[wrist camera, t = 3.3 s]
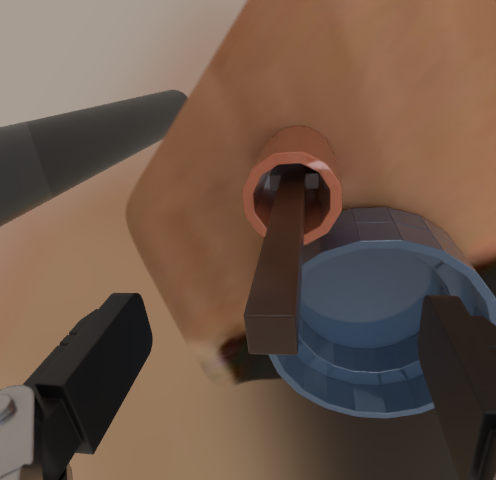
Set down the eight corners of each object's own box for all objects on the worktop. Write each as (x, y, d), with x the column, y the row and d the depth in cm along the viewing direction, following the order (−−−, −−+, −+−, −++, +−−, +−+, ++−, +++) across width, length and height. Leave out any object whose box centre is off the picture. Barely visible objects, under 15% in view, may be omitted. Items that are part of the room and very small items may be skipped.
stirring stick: (276, 176, 26) (220, 354, 11) (274, 156, 26) (214, 314, 10) (318, 173, 26) (327, 357, 10) (318, 153, 25) (327, 316, 9)
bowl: (278, 357, 35) (272, 411, 30) (265, 208, 28) (254, 243, 23) (451, 364, 32) (479, 424, 27) (481, 199, 26) (525, 237, 20)
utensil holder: (264, 198, 28) (248, 246, 21) (258, 129, 26) (237, 155, 19) (334, 195, 27) (341, 244, 20) (333, 122, 25) (342, 148, 18)
